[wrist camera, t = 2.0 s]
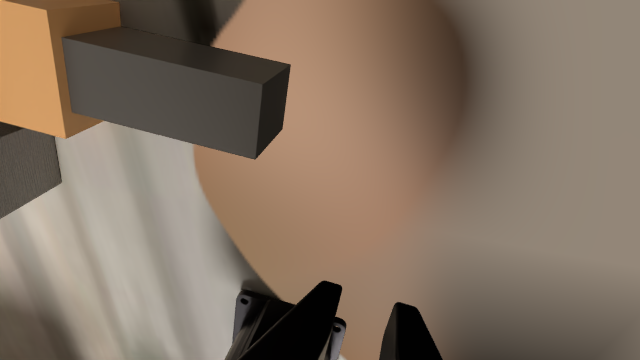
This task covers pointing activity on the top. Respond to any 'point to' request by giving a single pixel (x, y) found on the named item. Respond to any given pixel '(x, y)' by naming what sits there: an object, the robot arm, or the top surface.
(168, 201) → the top surface
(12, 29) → the plug
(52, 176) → the housing
